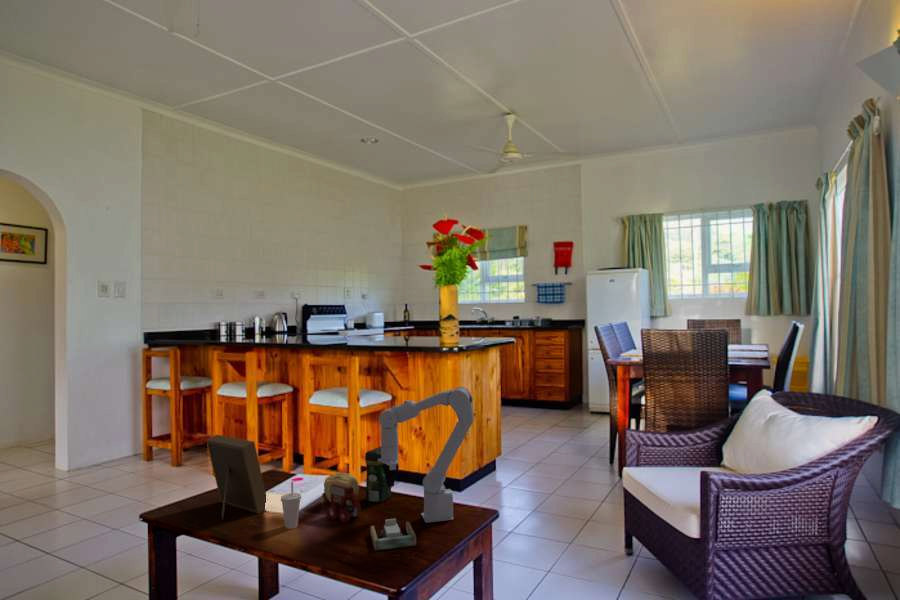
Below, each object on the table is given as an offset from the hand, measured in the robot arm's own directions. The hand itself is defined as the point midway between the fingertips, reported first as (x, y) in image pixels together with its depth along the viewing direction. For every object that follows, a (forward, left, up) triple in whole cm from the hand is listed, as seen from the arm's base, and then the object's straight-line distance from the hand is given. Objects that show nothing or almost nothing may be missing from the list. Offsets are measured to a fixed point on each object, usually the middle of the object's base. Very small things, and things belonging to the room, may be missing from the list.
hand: (390, 486), depth 178 cm
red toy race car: (+15, -3, -10) cm, 18 cm away
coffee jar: (+2, -18, -10) cm, 21 cm away
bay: (+2, +19, -10) cm, 22 cm away
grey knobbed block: (+2, +19, -10) cm, 21 cm away
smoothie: (+32, 0, -10) cm, 34 cm away
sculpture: (+15, -18, -10) cm, 26 cm away
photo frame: (+53, -21, -10) cm, 58 cm away
